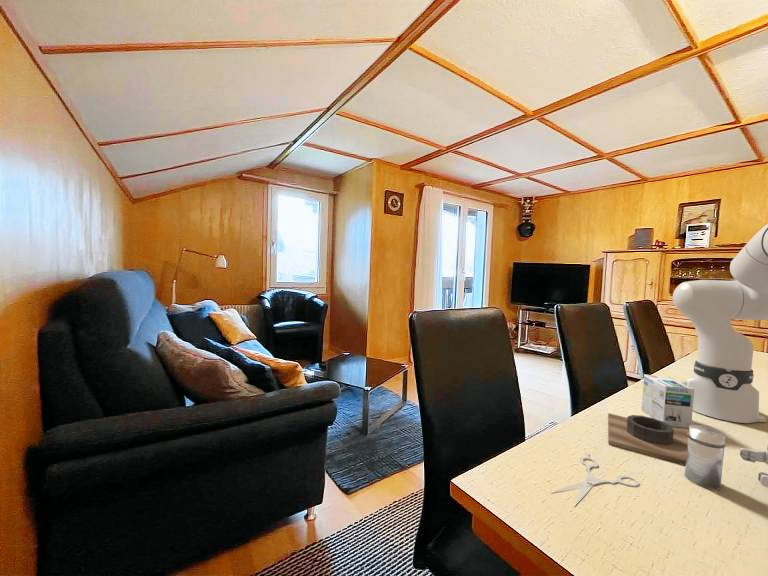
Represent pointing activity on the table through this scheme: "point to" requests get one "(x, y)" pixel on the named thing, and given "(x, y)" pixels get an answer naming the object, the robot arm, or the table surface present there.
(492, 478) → the table surface
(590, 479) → the scissors
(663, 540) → the table surface
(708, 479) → the cylinder
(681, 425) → the light bulb box
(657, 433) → the ring collar board
